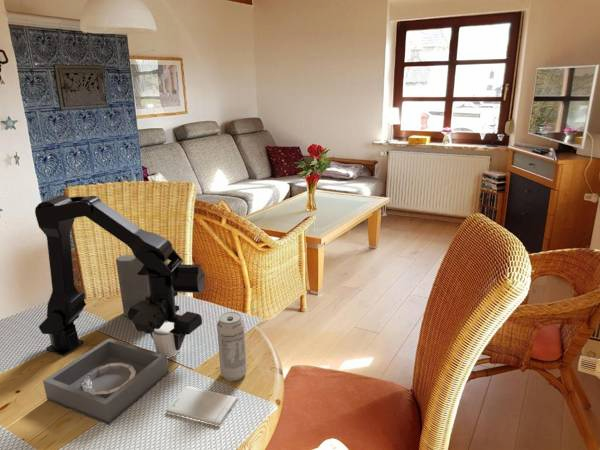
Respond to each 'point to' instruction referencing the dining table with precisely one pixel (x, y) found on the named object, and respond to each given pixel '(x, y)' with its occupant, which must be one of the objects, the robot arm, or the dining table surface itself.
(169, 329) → the white short cylinder
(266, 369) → the dining table surface
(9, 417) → the dining table surface
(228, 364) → the energy drink can
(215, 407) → the grey flat slab
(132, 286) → the flask
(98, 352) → the walled box
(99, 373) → the collar
